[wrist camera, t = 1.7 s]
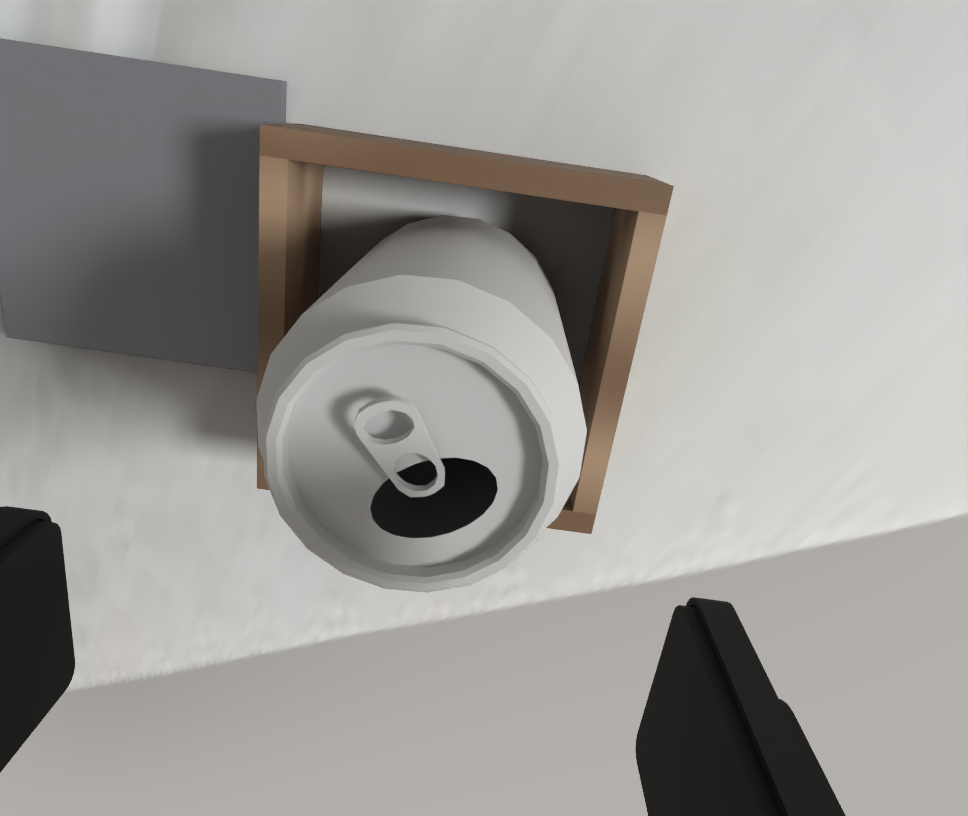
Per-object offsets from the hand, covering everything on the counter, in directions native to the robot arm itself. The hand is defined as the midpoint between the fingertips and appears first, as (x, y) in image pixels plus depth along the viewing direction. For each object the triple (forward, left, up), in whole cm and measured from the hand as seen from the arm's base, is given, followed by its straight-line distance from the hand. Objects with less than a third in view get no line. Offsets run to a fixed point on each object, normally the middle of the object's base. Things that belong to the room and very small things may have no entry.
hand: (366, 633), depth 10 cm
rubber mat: (-3, -11, -16) cm, 20 cm away
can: (-1, 0, -16) cm, 16 cm away
